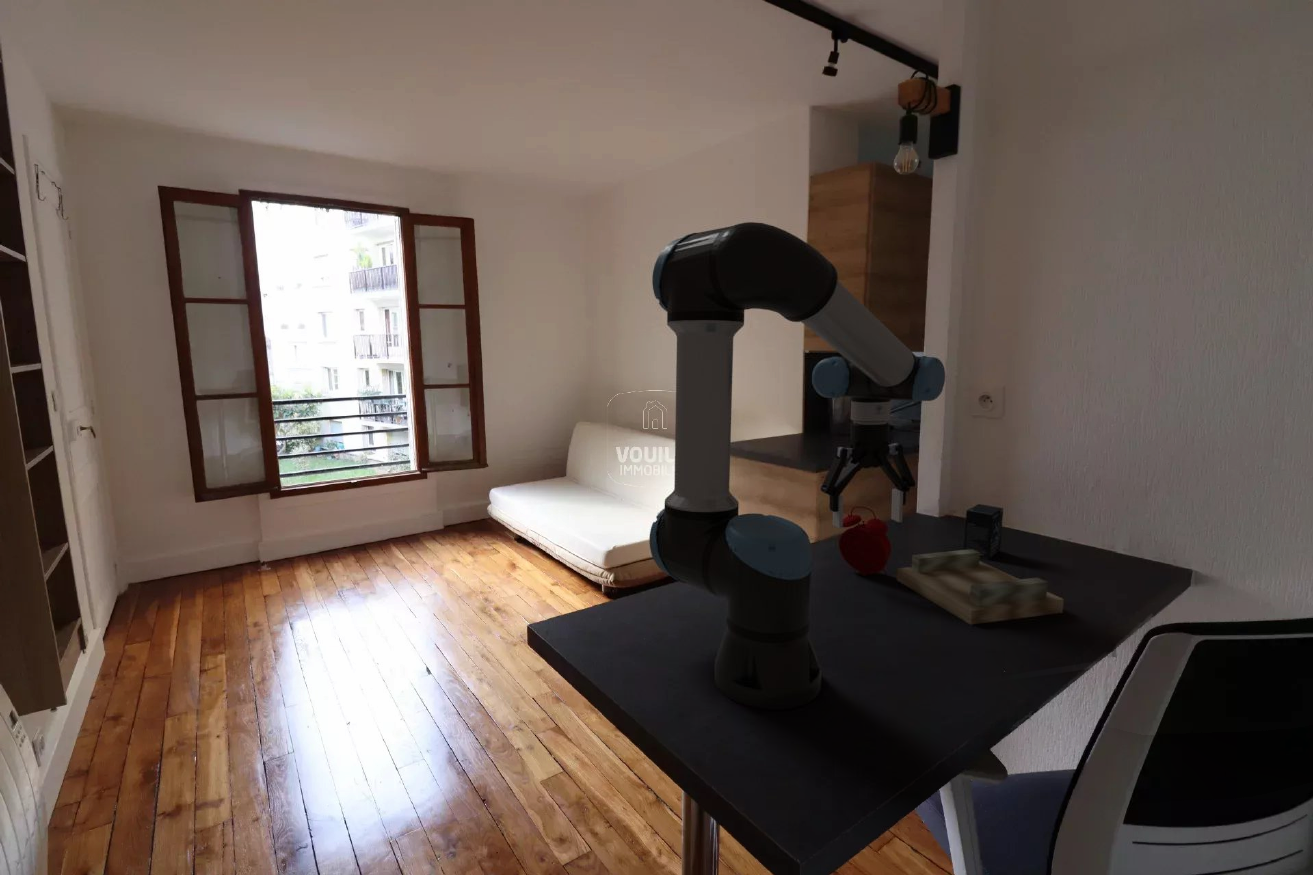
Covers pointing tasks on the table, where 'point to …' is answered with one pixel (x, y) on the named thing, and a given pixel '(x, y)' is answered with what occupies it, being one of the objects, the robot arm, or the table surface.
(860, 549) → the alarm clock
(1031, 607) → the display stand
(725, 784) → the table surface
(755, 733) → the table surface
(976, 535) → the box
